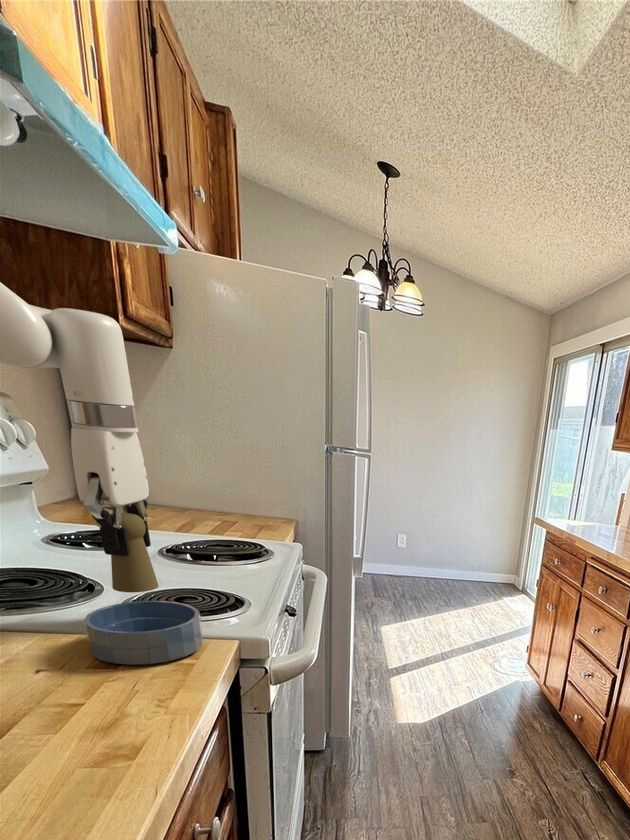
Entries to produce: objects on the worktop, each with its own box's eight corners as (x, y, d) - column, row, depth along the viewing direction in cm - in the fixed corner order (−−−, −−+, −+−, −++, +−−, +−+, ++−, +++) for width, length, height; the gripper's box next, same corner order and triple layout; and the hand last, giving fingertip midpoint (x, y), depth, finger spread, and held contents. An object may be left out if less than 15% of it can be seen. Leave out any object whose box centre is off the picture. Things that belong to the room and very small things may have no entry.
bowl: (69, 664, 73) (60, 628, 71) (125, 628, 85) (119, 597, 83) (178, 671, 75) (172, 636, 73) (218, 635, 87) (214, 604, 85)
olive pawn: (116, 594, 82) (100, 518, 77) (109, 583, 86) (93, 510, 81) (162, 590, 86) (150, 517, 81) (154, 579, 90) (142, 509, 85)
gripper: (110, 414, 83) (132, 536, 91) (30, 414, 68) (65, 561, 75) (163, 420, 84) (181, 541, 92) (96, 422, 68) (124, 566, 76)
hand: (128, 549), depth 83 cm, fingers closed on olive pawn, 5 cm apart
